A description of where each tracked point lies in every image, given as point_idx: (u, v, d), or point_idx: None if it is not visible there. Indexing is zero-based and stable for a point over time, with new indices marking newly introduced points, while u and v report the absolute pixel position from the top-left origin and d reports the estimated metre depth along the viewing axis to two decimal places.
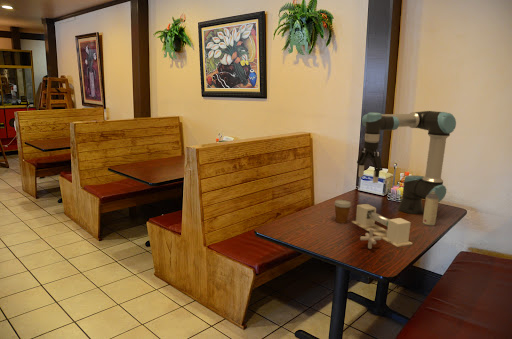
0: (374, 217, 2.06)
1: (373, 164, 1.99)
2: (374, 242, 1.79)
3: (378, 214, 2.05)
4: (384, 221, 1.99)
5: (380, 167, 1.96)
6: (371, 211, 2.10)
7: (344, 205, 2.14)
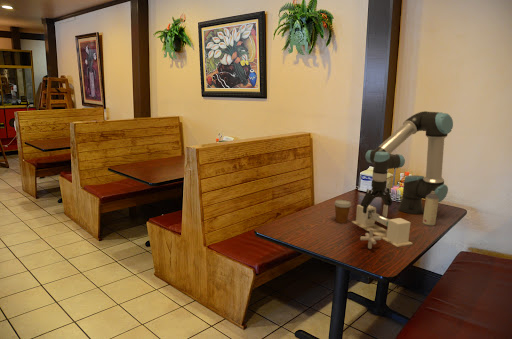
0: (374, 217, 2.06)
1: None
2: (374, 242, 1.79)
3: (378, 214, 2.05)
4: (384, 221, 1.99)
5: (362, 203, 2.02)
6: (371, 211, 2.10)
7: (344, 205, 2.14)
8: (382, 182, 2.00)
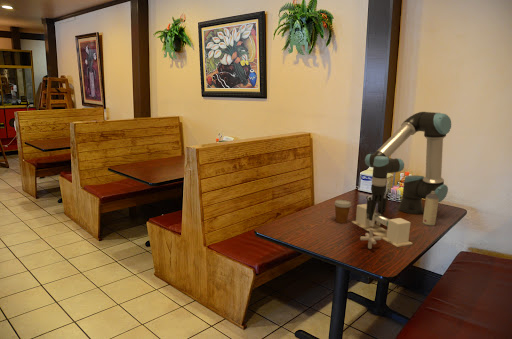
0: (374, 217, 2.06)
1: None
2: (374, 242, 1.79)
3: (378, 214, 2.05)
4: (384, 221, 1.99)
5: (368, 211, 2.04)
6: None
7: (344, 205, 2.14)
8: (382, 187, 2.00)
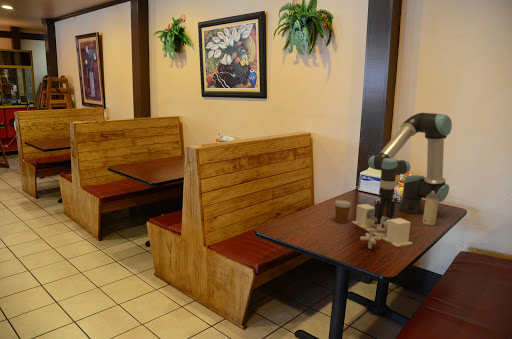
0: (382, 221, 2.00)
1: None
2: (374, 242, 1.79)
3: (386, 218, 2.00)
4: None
5: (376, 215, 1.99)
6: None
7: (344, 205, 2.14)
8: (390, 190, 1.95)
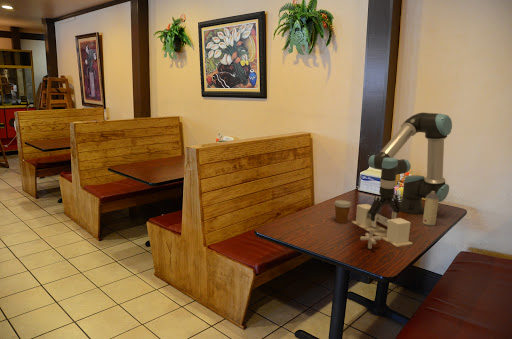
0: (382, 221, 2.00)
1: None
2: (374, 242, 1.79)
3: (386, 218, 2.00)
4: None
5: (370, 211, 1.97)
6: (379, 215, 2.04)
7: (344, 205, 2.14)
8: (390, 189, 1.94)
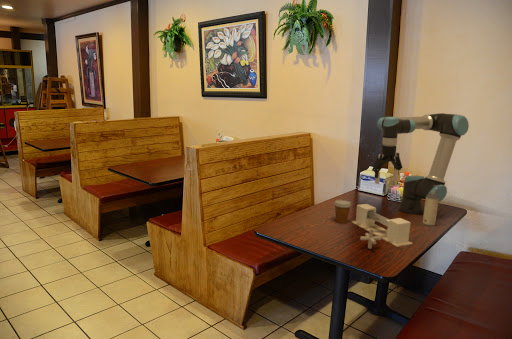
0: (382, 221, 2.00)
1: None
2: (374, 242, 1.79)
3: (386, 218, 2.00)
4: None
5: (374, 168, 2.05)
6: (379, 215, 2.04)
7: (344, 205, 2.14)
8: (392, 146, 2.03)
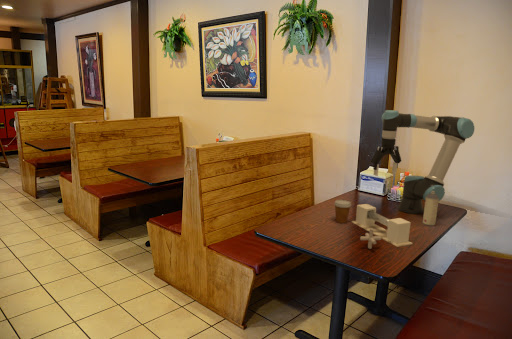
0: (382, 221, 2.00)
1: None
2: (374, 242, 1.79)
3: (386, 218, 2.00)
4: None
5: (373, 160, 2.10)
6: (379, 215, 2.04)
7: (344, 205, 2.14)
8: (392, 139, 2.08)
